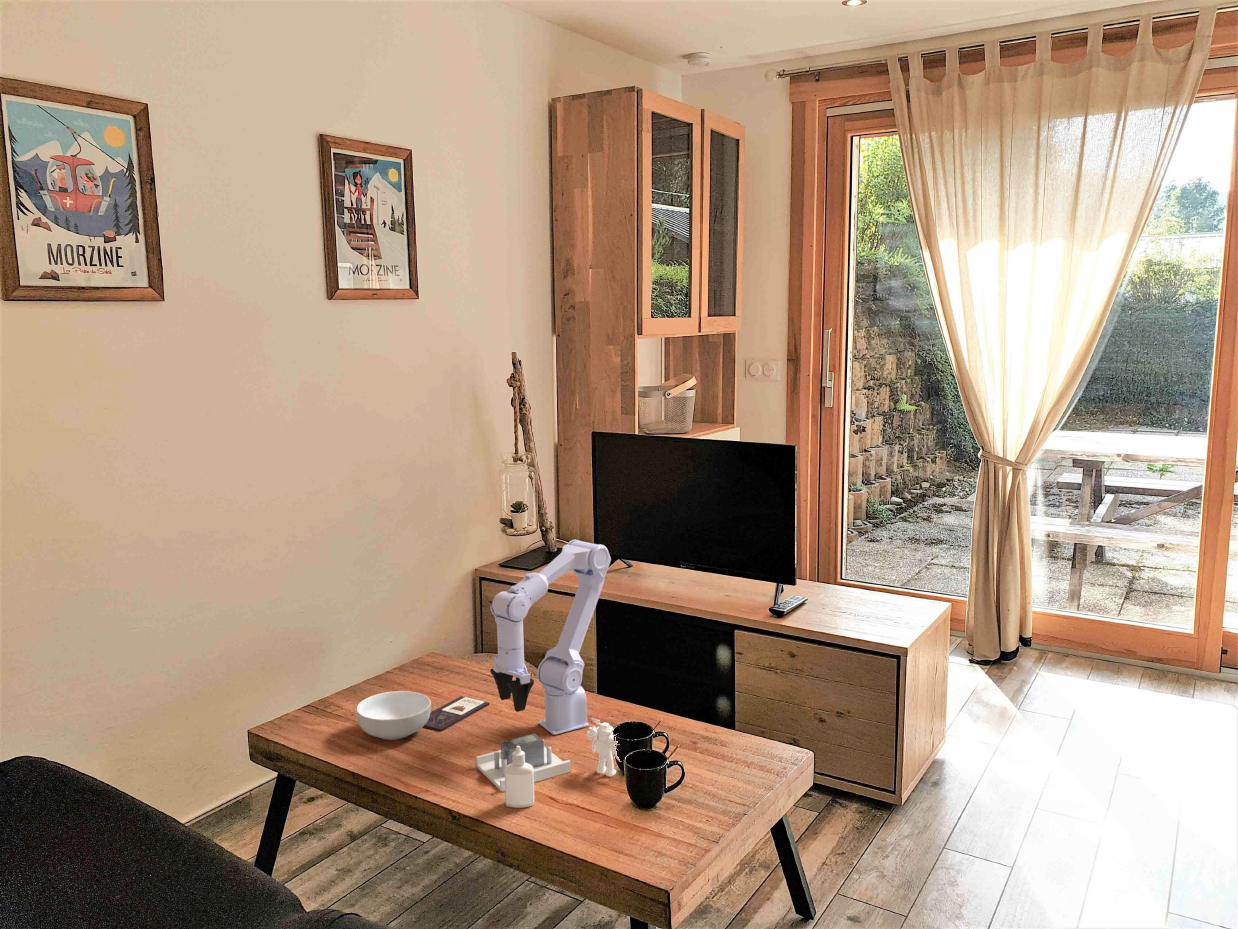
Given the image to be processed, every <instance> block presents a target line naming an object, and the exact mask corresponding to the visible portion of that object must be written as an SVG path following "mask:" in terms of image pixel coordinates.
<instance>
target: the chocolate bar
mask: <svg viewBox="0 0 1238 929" xmlns="http://www.w3.org/2000/svg"><path fill="white" fill-rule="evenodd" d="M488 706H490V702H487V701H484V700H483V701H482V700H478V699H475V698H472V697H471V698H470V697H466V696H459V697H457V698H455V699H453V700H451V701H450V702H447V703H445V704H444V705H442V706H440V707H438V708H436V709H434V710H431V712H430V717H429V719H428V721H427V723H426V724H425V725H424V726H423V727H422V728H425V729H429V730H433V731H436V732H443V731H446V730H448V729H449V728H451V727H452V726H455V725H456V724H458V723H459V722H462V721H463V720H465V719H467V718H468V717H471V716H472V715H474V714H476V713H477V712H480V711H482V710H483V709H484V708H486V707H488Z"/></svg>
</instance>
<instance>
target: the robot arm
mask: <svg viewBox="0 0 1238 929" xmlns="http://www.w3.org/2000/svg"><path fill="white" fill-rule="evenodd" d="M611 561H612V558H611V556H610V552H609V550H608V547H606V546H605V545H604V544H597V543H593V542H592V543H591V542H587V541H582V540H579V539H575V538H574V539H572V540H570V541H569V542H567V544H564V545H563V546H562V549H561V552H560V554H558V555H557V556H556V557H554V559H552V560H551V562H550V563H549V564H548V565H546V566H545V567H544V568H543V569H542V570H541V571H539V573H537V572H531V573H529V572H527V573H526V574H525V575H524V578H523V579H521V580H520V581H519V582H517V583H515V584H514V585H512V586H511V587H510V588H509V589H508V590H504V591H500V592H499V593H497V594H496V595H494V598H493V599H492V603H491V605H490V606H489V609H490V612H491V614H492V615H493V617H494V620H495V621H494V622H495V623H496V633H497V635H496V638H497V655H494V656H493V665H494V667H492V668H490V672H489V673H490V674H491V675H492V677H493V680H494V682H495V684H496V688H497V691H498V692H497V693H498V694H499V698H500V700H501V701H505V700H510V699H511V697H512V703H513V709H514V711H515V712H516V713H519V712H523V711H525V710H526V707H527V702H528V697H529V695H530V692H531V689H532V688H533V686H534V684H535V680H534V679H533V678H531V674H530V673H529V672H528V668H527V666H526V663H525V642H524V619H525V618H526V616H527V615H528V613H529V610H530V609H531V607H532V606H533V605H534V604H535V603H536V602H537V601H538V600H540V599H541V598H542V597H544V596H545V595H546V594H547V593H548V590H549V585H551V584H552V583H554V582H555V581H556V580H558V579H560V578H561V577H562V576H564V575H565V574H567V573H568V572H570V571H572V573H573V574H574V575H575V576H576V578H577V579H578V582H579V584H578V587H577V590H576V593H575V596H574V598H573V601H572V603H571V605H570V609H569V612H568V615H567V617H566V621H565V623H564V625H563V627H562V632H561V634H560V636H559V639H558V642H557V645H556V646H554V647H552V648H550V649H549V650H547V652H546V653H545V656H544V658H543V659H542V661H541V662H540V663H539V665H538V667H537V671H536V675H537V676H536V678H537V680H538V682H539V683H540V684H541V685H542V689H543V690H544V715H545V716H544V717H545V718H544V720H540V721H538V725H539V726H541V727H542V728H544V729H545V730H546V731H548V732H549V733H550V734H551V735H554V736H555V735H560V734H563V733H567V732H571V731H575V730H578V729H582V728H586V727H589V726H590V725H589V722H588V701H587V700H588V699H587V695H586V692H585V689H584V687H583V686H582V683H583V682H582V681H583V671H584V667H585V662H584V661H583V658H582V657H581V656H580V652H581V648H582V646H583V643H584V640H585V638H586V634H587V631H588V628H589V626H590V623H591V621H592V619H593V618H592V617H593V615H594V612H595V609H596V606H597V604H598V601H599V598H600V596H601V592H602V590H603V586H604V583H605V578H606V576H607V572H608V569H609V567H610V564H611ZM566 662H567V663H566ZM513 678H515V679H514V680H513Z"/></svg>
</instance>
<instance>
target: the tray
mask: <svg viewBox="0 0 1238 929" xmlns="http://www.w3.org/2000/svg"><path fill="white" fill-rule="evenodd" d="M542 739H543V738H542ZM543 740H544V765H542V766H538V767H535V768H533V771H534V783H536V782H540V781H543V780H547V779H550V778H553V777H557V776H561V775H564V774H567V773H570V772H572V761H571V760H570V759H568V760H562V759H560V757H558V756H557V755H556V754H555V753H553V752H552V746H547V747H546V746H545V743H546V742H545V741H546V740H545V739H543ZM475 764H476V765H475V766H476V768H477V769H478V771H480V772H481V773H482V775H484V776H485V777H486V778H487V779H488V780H489V781H490V782H491V783H492V784H493V785H494V786H495V787H496V788H497V789H498V790H499V791H500V792H502V793H503V792H505V768H506V766H507V759H502V764H501V749H500V750H496V751H492V752H489V753H488V752H487V753H484V754H481V755H478V756H475Z"/></svg>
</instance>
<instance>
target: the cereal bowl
mask: <svg viewBox="0 0 1238 929" xmlns="http://www.w3.org/2000/svg"><path fill="white" fill-rule="evenodd" d="M431 709H432V701H431V699H430V698H429V697H428V696H427V695H425V694H423V693H421V692H420V693H419V692H416V691H410V690H406V691H405V690H397V691H396V690H394V691H386V692H381V693H377V694H373V695H371V696H369V697H367V698H364V699H363V700H361V701H360V702H359V703H358V705H357V707H356V709H355V710H356V711H355V712H356V719H357V723H358V725H359V727H360V729H362V730H363V731H364V732H365V733H366V734H368V735H369V736H373V737H376V738H380V739H382V740H387V741H388V740H390V741H392V740H393V741H395V740H400V739H404V738H406V737H409V736H410V735H412V734H413V735H414V734H415V733H416V732H418V731H420V730H421V729H422V728H424V727H423V726H424V725H425V724H426V723H427V721H428V719H429V717H430V712H432V710H431Z"/></svg>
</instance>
